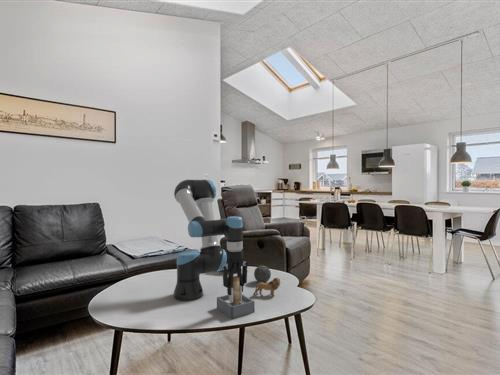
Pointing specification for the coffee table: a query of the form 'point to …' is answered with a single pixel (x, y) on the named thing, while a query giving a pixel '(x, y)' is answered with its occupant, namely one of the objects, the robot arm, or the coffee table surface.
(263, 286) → the lion figurine
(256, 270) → the decorative ball
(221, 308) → the box
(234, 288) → the peg
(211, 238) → the robot arm
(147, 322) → the coffee table surface
